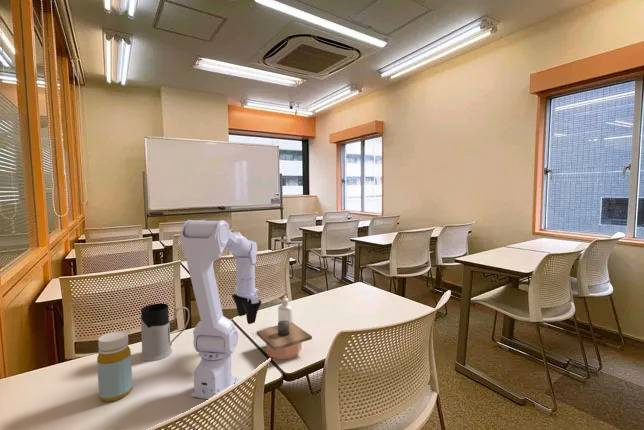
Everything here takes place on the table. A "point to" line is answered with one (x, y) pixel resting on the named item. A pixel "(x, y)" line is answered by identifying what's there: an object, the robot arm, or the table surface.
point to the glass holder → (156, 331)
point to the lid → (283, 335)
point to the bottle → (114, 366)
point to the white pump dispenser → (285, 311)
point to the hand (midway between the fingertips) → (246, 319)
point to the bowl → (284, 351)
